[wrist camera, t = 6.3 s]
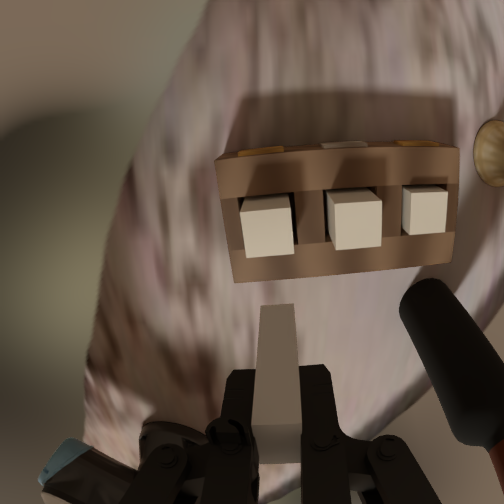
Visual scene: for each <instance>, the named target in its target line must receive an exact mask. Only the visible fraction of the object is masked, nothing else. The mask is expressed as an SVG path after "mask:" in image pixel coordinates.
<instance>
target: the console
mask: <svg viewBox="0 0 504 504" xmlns="http://www.w3.org/2000/svg"><path fill="white" fill-rule="evenodd" d="M214 163H215V169H216V176H217V182H218V188H219V195H220V201H221V207H222V213H223V220H224V226H225V232H226V238H227V244H228V250H229V256H230V261H231V267H232V273H233V279H234V283H244V282H257V281H270V280H283V279H295V278H306V277H318V276H329V275H339V274H350V273H360V272H370V271H380V270H389V269H398V268H407V267H416V266H425V265H434V264H442V263H450V262H451V260H452V253H453V245H454V237H455V228H456V218H457V206H458V191H459V148H457V147H454V146H450V145H446V144H442V143H438V142H432V141H421V140H394V142H362V141H345V142H326V143H320V144H314V145H301V146H289V147H283V146H275V147H265V148H256V149H247V150H240V151H239V152H233V153H226V154H222V155H221V156H220V157H218V158H217V159H216V160H215V161H214ZM414 184H434V185H436V186H438V187H440V188H442V189H444V190H445V191H447V192H448V199H447V214H446V226H445V232H441V233H429V234H417V235H409V234H408V233H407V232H406V231H405V230H404V229H403V228H402V227H401V209H402V185H414ZM353 187H367V188H368V189H369V190H370V191H371V192H373V193H374V194H375V195H376V196H377V197H378V198H379V199H381V200H382V234H381V246H379V247H368V248H357V249H346V250H336V249H335V247H334V244H333V242H332V240H331V237H330V235H329V233H328V230H327V215H326V197H325V189H338V188H353ZM287 192H288V196H289V202H290V208H291V220H292V231H293V244H294V254H288V255H276V256H265V257H253V258H246V252H245V245H244V238H243V231H242V225H241V218H240V210H241V207H242V205H243V202H244V199H245V197H246V196H256V195H266V194H276V193H287Z"/></svg>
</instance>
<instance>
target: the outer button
mask: <svg viewBox="0 0 504 504" xmlns="http://www.w3.org/2000/svg"><path fill="white" fill-rule="evenodd" d="M447 199H448V192H447V191H445V190H444V189H442V188H440V187H438V186H436V185H434V184H414V185H402V209H401V227H402V228H403V229H404V230H405V231H406V232H407V233H408V234H409V235H417V234H429V233H441V232H445V226H446V214H447Z"/></svg>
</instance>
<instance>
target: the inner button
mask: <svg viewBox="0 0 504 504" xmlns="http://www.w3.org/2000/svg"><path fill="white" fill-rule="evenodd" d="M240 218H241V225H242V231H243V238H244V245H245V252H246V258H253V257H265V256H276V255H288V254H294V244H293V231H292V220H291V208H290V202H289V196H288V192H287V193H276V194H266V195H256V196H246V197H245V199H244V202H243V205H242V207H241V210H240Z"/></svg>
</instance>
